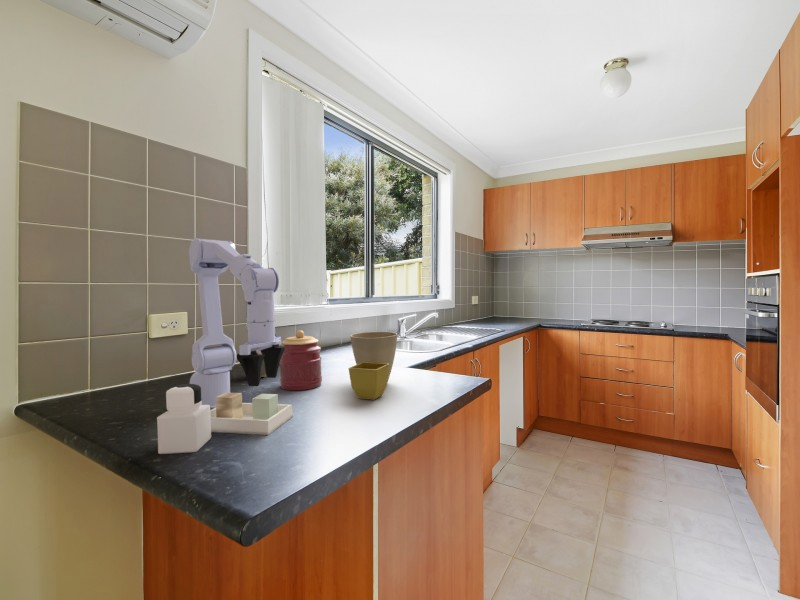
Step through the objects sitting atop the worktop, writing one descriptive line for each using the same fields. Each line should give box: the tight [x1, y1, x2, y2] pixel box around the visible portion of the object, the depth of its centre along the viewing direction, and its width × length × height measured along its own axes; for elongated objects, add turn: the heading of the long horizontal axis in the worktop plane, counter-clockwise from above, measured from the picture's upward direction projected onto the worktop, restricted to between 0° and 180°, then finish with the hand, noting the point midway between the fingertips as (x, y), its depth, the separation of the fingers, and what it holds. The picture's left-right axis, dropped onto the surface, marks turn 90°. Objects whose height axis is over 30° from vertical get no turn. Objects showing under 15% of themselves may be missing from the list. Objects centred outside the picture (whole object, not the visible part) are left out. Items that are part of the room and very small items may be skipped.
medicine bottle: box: [156, 383, 212, 455], centre depth 76 cm, size 7×7×12 cm
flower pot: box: [348, 362, 389, 401], centre depth 108 cm, size 9×9×9 cm
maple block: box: [216, 392, 243, 419], centre depth 89 cm, size 4×4×6 cm
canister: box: [279, 329, 323, 391], centre depth 122 cm, size 13×13×18 cm
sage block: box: [251, 393, 279, 420], centre depth 87 cm, size 4×4×6 cm
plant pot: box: [349, 331, 398, 384], centre depth 122 cm, size 15×15×16 cm
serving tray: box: [210, 402, 293, 436], centre depth 88 cm, size 17×11×3 cm, turn 80°
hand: (263, 381), depth 87 cm, fingers open, 7 cm apart
